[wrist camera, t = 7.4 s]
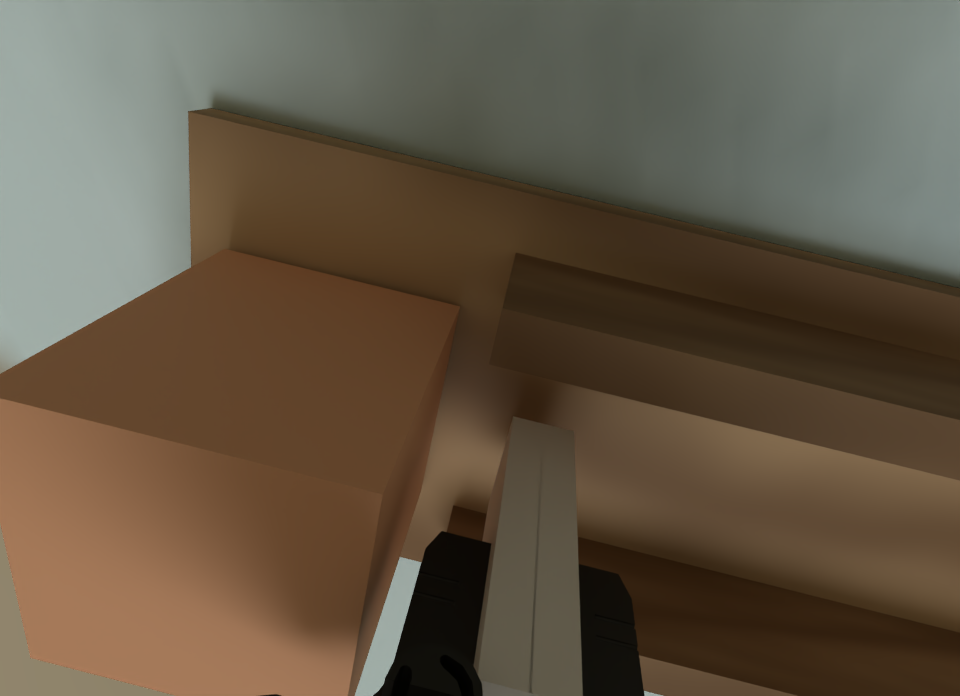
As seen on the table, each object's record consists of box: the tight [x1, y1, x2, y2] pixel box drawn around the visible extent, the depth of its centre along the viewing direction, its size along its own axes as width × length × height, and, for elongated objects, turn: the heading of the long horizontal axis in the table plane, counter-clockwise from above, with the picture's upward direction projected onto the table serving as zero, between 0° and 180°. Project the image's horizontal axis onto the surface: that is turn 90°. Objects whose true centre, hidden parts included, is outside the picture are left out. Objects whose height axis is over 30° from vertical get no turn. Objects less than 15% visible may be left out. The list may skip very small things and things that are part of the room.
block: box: [0, 249, 460, 696], centre depth 13 cm, size 6×6×7 cm
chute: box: [188, 108, 960, 696], centre depth 15 cm, size 12×26×4 cm, turn 78°
